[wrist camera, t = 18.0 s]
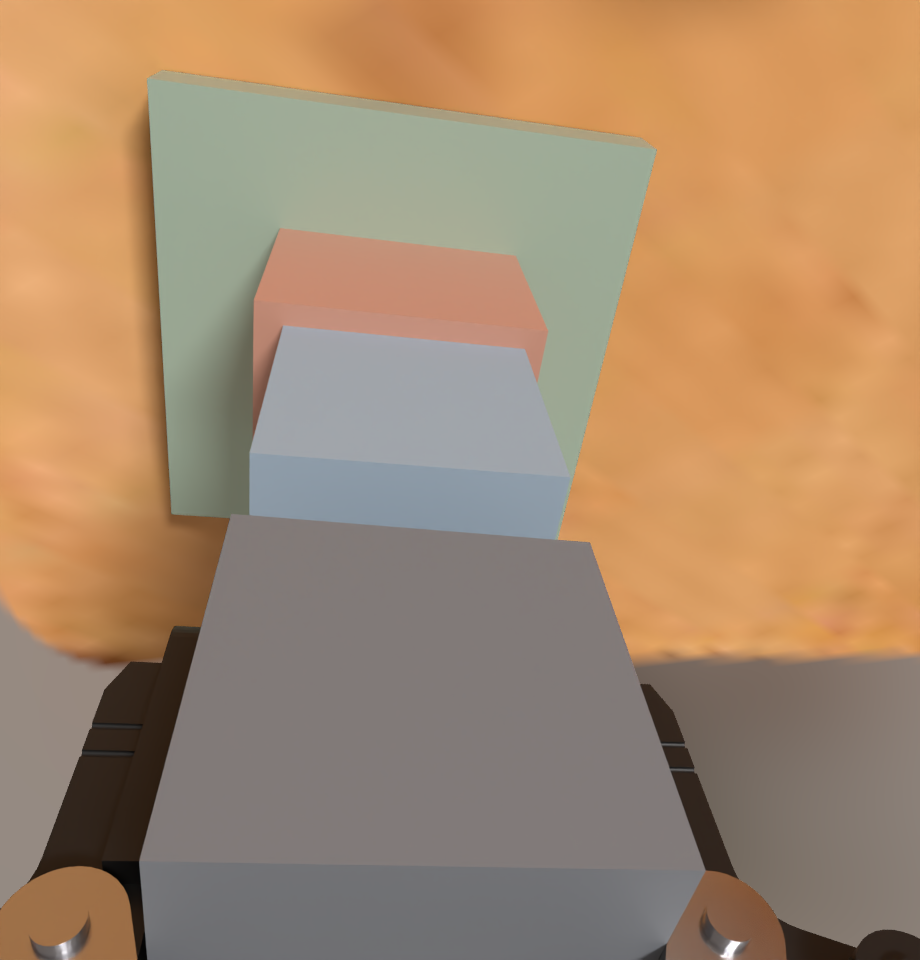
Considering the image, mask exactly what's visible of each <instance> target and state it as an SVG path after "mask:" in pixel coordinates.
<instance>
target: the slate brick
mask: <svg viewBox="0 0 920 960" xmlns="http://www.w3.org/2000/svg"><path fill="white" fill-rule="evenodd" d="M139 866H140V878H141V889H142V902H143V914H144V925H145V937H146V949H147V960H658V959H659V957H660V955H661V953H662V952H663V950H664V948H665V946H666V944H667V942H668V940H669V938H670V937H671V935H672V933H673V931H674V929H675V927H676V925H677V924H678V922H679V920H680V918H681V916H682V914H683V912H684V910H685V909H686V907H687V905H688V903H689V901H690V899H691V897H692V896H693V894H694V892H695V890H696V888H697V886H698V884H699V882H700V881H701V879H702V877H703V875H704V873H705V871H706V870H705V867H704V864H703V862H702V859H701V856H700V853H699V850H698V847H697V845H696V842H695V839H694V836H693V833H692V830H691V828H690V825H689V822H688V819H687V816H686V813H685V811H684V808H683V805H682V802H681V799H680V796H679V794H678V791H677V788H676V785H675V782H674V779H673V777H672V774H671V771H670V768H669V765H668V762H667V760H666V757H665V754H664V751H663V748H662V745H661V743H660V740H659V737H658V734H657V731H656V728H655V726H654V723H653V720H652V717H651V714H650V711H649V709H648V706H647V703H646V700H645V697H644V694H643V692H642V689H641V686H640V683H639V680H638V677H637V675H636V672H635V669H634V666H633V663H632V660H631V658H630V655H629V652H628V649H627V646H626V643H625V641H624V638H623V635H622V632H621V629H620V626H619V624H618V621H617V618H616V615H615V612H614V609H613V607H612V604H611V601H610V598H609V595H608V592H607V590H606V587H605V584H604V581H603V578H602V575H601V573H600V570H599V567H598V564H597V561H596V558H595V556H594V553H593V550H592V547H591V544H590V542H578V541H565V540H553V539H540V538H528V537H515V536H503V535H490V534H478V533H465V532H452V531H440V530H427V529H415V528H402V527H390V526H377V525H365V524H352V523H340V522H327V521H315V520H302V519H290V518H277V517H264V516H252V515H239V514H231V516H230V520H229V524H228V528H227V532H226V535H225V539H224V543H223V547H222V550H221V554H220V558H219V562H218V566H217V569H216V573H215V577H214V581H213V584H212V588H211V592H210V596H209V600H208V603H207V607H206V611H205V615H204V618H203V622H202V626H201V630H200V633H199V637H198V641H197V645H196V649H195V652H194V656H193V660H192V664H191V667H190V671H189V675H188V679H187V683H186V686H185V690H184V694H183V698H182V701H181V705H180V709H179V713H178V717H177V720H176V724H175V728H174V732H173V735H172V739H171V743H170V747H169V751H168V754H167V758H166V762H165V766H164V769H163V773H162V777H161V781H160V785H159V788H158V792H157V796H156V800H155V803H154V807H153V811H152V815H151V818H150V822H149V826H148V830H147V834H146V837H145V841H144V845H143V849H142V852H141V856H140V860H139Z"/></svg>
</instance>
